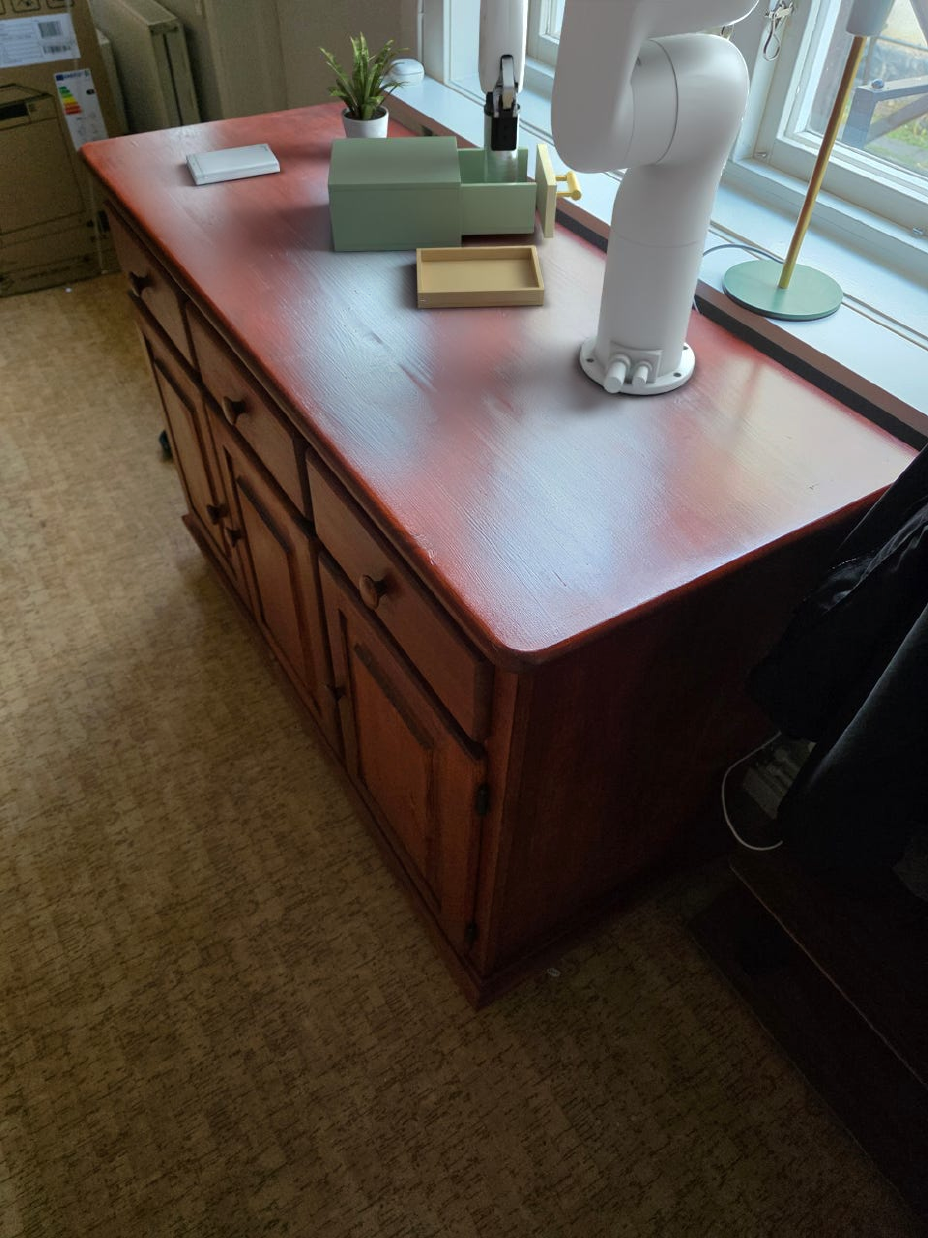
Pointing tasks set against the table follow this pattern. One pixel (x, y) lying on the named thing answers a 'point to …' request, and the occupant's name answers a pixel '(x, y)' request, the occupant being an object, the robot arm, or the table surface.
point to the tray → (478, 277)
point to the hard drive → (232, 163)
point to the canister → (498, 154)
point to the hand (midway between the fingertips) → (500, 134)
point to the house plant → (364, 92)
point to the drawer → (510, 195)
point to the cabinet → (395, 193)
